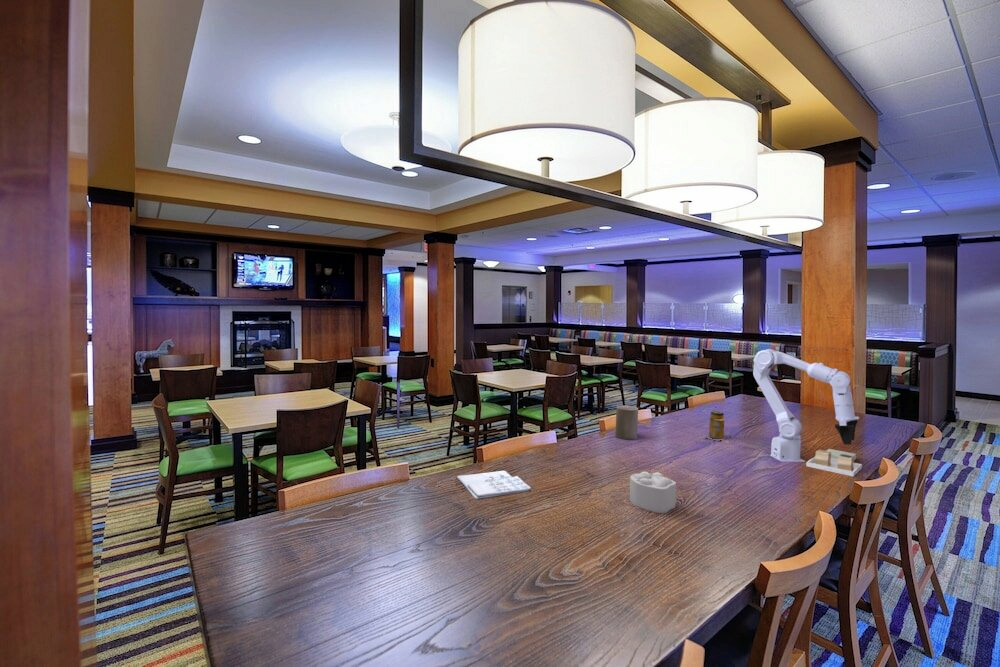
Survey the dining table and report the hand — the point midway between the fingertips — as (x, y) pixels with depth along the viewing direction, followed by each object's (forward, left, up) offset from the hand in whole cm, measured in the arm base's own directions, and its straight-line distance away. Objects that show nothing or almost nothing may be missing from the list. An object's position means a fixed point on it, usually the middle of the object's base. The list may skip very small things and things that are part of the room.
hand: (849, 442), depth 173 cm
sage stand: (+6, +12, -11) cm, 17 cm away
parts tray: (-4, +2, -11) cm, 11 cm away
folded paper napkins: (-130, -14, -11) cm, 131 cm away
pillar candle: (-69, +45, -11) cm, 83 cm away
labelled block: (-1, -1, -10) cm, 10 cm away
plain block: (-6, +5, -10) cm, 13 cm away
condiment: (-29, +43, -11) cm, 53 cm away
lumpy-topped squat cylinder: (-83, -29, -11) cm, 88 cm away
